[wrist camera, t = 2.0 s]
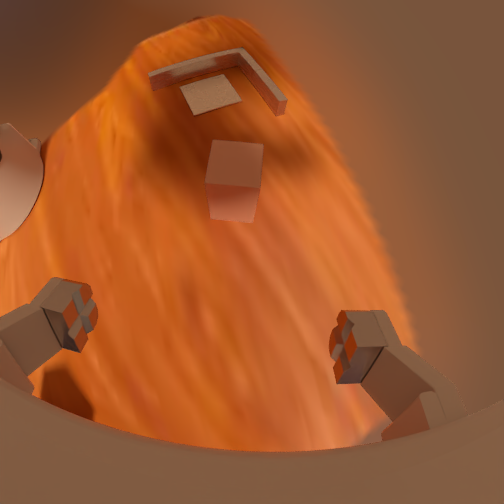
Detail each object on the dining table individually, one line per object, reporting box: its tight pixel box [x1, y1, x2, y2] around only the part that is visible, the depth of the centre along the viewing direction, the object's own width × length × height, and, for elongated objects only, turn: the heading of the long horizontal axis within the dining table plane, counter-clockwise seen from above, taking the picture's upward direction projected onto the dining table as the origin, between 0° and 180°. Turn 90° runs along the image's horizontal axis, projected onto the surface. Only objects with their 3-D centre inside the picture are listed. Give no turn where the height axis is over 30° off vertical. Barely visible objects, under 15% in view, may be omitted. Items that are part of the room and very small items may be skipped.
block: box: [205, 140, 264, 223], centre depth 26 cm, size 4×4×8 cm
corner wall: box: [148, 47, 288, 116], centre depth 32 cm, size 14×15×3 cm
